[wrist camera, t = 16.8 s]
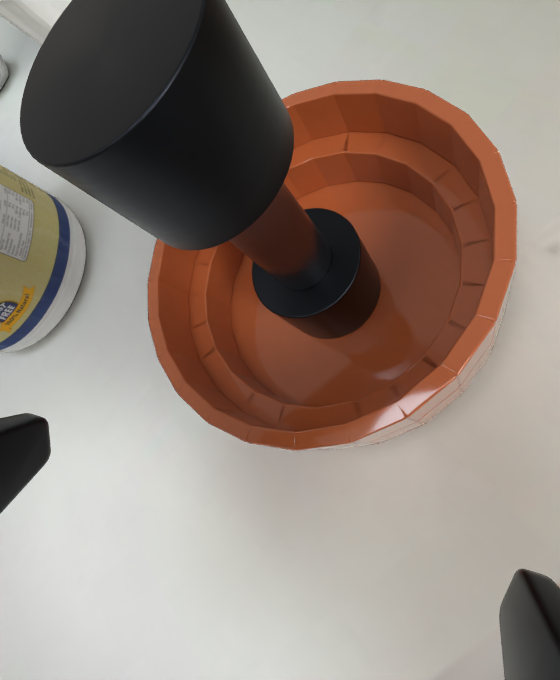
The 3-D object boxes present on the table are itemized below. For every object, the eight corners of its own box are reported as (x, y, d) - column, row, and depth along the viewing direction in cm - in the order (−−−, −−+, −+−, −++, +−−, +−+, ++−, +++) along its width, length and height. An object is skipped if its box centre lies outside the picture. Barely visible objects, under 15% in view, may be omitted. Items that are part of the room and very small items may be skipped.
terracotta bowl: (507, 133, 17) (518, 28, 13) (503, 473, 14) (514, 487, 10) (233, 184, 24) (178, 125, 19) (194, 426, 21) (119, 421, 16)
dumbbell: (396, 314, 17) (232, 54, 6) (300, 353, 18) (20, 211, 7) (361, 228, 19) (180, -108, 7) (276, 271, 20) (17, 48, 9)
